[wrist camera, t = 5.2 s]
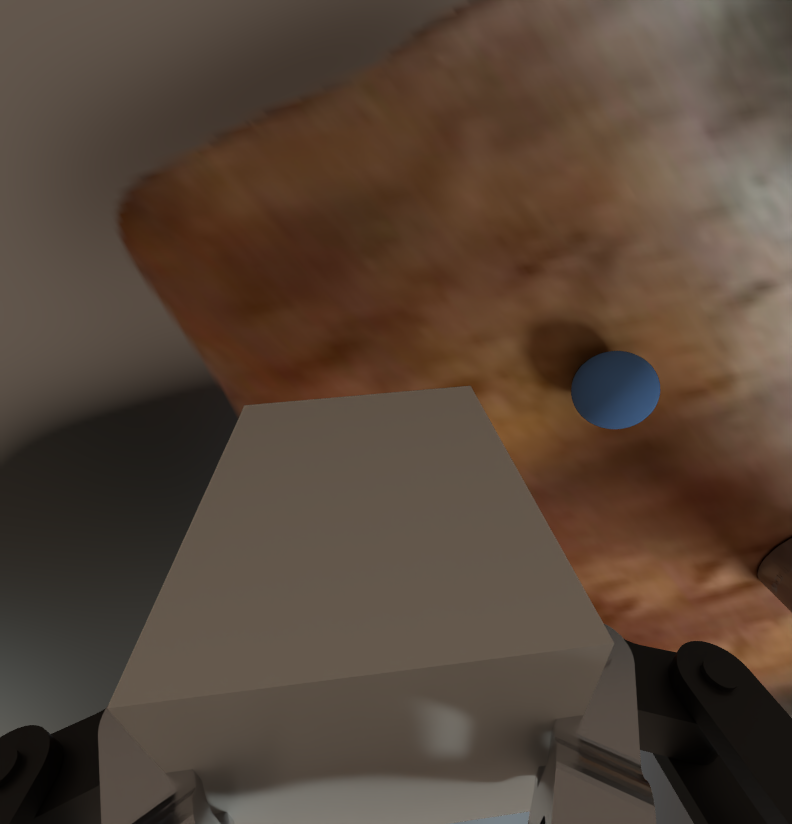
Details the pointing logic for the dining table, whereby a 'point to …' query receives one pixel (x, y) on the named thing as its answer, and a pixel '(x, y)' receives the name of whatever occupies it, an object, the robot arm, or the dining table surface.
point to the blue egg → (615, 390)
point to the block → (364, 621)
